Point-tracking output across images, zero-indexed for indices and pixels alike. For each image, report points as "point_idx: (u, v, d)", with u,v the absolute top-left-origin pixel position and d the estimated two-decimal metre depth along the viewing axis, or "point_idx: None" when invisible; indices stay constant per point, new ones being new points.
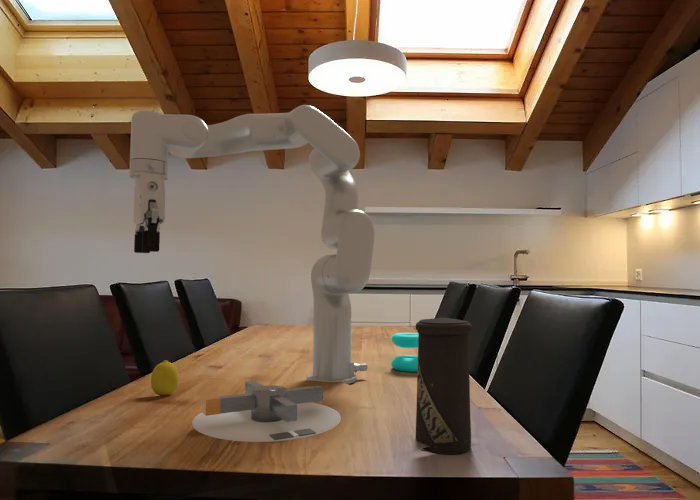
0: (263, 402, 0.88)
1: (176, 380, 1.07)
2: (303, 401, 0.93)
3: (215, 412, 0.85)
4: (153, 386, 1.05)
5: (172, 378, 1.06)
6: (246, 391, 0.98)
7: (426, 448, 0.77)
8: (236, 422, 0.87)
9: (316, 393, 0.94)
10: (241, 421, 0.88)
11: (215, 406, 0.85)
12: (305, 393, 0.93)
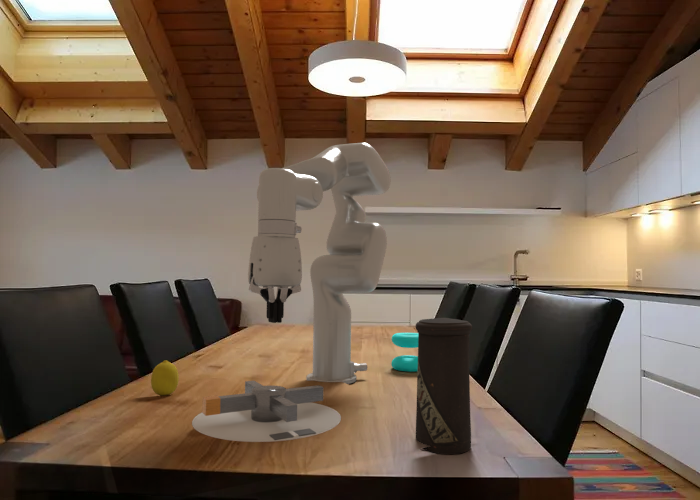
0: (263, 402, 0.88)
1: (176, 380, 1.07)
2: (303, 401, 0.93)
3: (215, 412, 0.85)
4: (153, 386, 1.05)
5: (172, 378, 1.06)
6: (246, 391, 0.98)
7: (426, 448, 0.77)
8: (236, 422, 0.87)
9: (316, 393, 0.94)
10: (241, 421, 0.88)
11: (215, 406, 0.85)
12: (305, 393, 0.93)
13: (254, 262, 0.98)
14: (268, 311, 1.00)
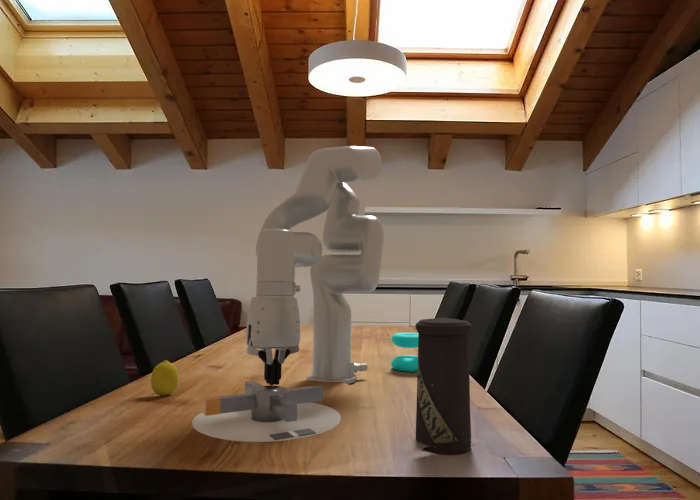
0: (263, 402, 0.88)
1: (176, 380, 1.07)
2: (303, 401, 0.93)
3: (215, 412, 0.85)
4: (153, 386, 1.05)
5: (172, 378, 1.06)
6: (246, 391, 0.98)
7: (426, 448, 0.77)
8: (236, 422, 0.87)
9: (316, 393, 0.94)
10: (241, 421, 0.88)
11: (215, 406, 0.85)
12: (305, 393, 0.93)
13: (252, 324, 0.97)
14: (266, 373, 0.99)
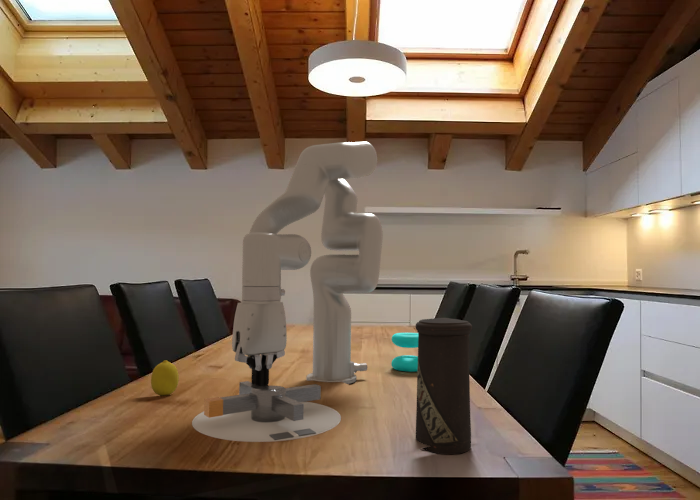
0: (265, 402, 0.88)
1: (176, 380, 1.07)
2: (302, 400, 0.94)
3: (218, 413, 0.84)
4: (153, 386, 1.05)
5: (172, 378, 1.06)
6: (241, 392, 0.98)
7: (426, 448, 0.77)
8: (236, 422, 0.87)
9: (314, 392, 0.95)
10: (241, 421, 0.88)
11: (218, 407, 0.84)
12: (304, 392, 0.94)
13: (241, 331, 0.95)
14: (254, 379, 0.98)
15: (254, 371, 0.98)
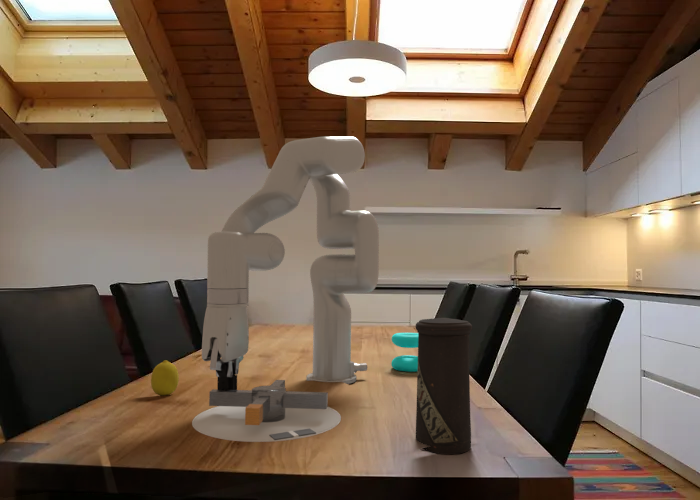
0: (279, 401, 0.89)
1: (176, 380, 1.07)
2: None
3: (261, 419, 0.81)
4: (153, 386, 1.05)
5: (172, 378, 1.06)
6: (214, 401, 0.90)
7: (426, 448, 0.77)
8: (236, 422, 0.87)
9: (283, 386, 0.99)
10: (241, 421, 0.88)
11: (261, 413, 0.81)
12: None
13: (220, 337, 0.89)
14: (224, 387, 0.92)
15: (224, 378, 0.92)
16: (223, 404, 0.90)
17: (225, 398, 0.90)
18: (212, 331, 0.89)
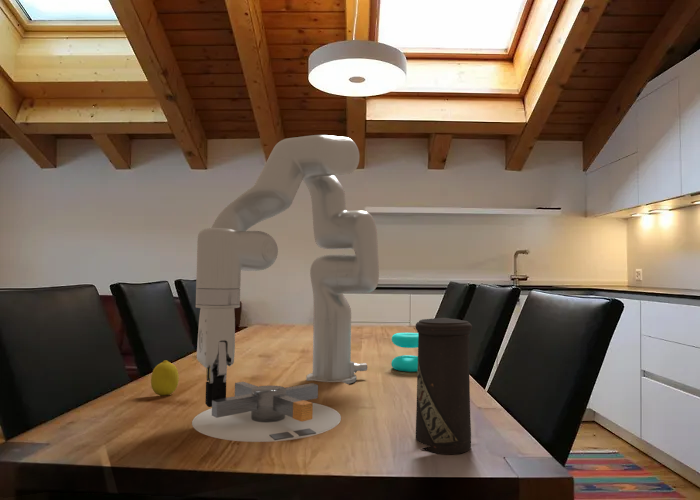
0: None
1: (176, 380, 1.07)
2: None
3: None
4: (153, 386, 1.05)
5: (172, 378, 1.06)
6: (222, 412, 0.83)
7: (426, 448, 0.77)
8: (236, 422, 0.87)
9: None
10: (241, 421, 0.88)
11: None
12: None
13: (230, 339, 0.84)
14: (219, 394, 0.87)
15: (219, 385, 0.87)
16: (231, 413, 0.85)
17: (233, 406, 0.85)
18: (221, 334, 0.84)
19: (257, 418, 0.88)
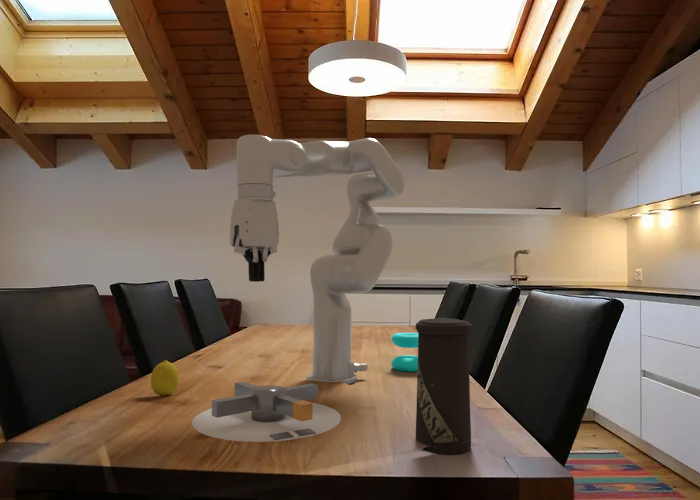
0: None
1: (176, 380, 1.07)
2: None
3: None
4: (153, 386, 1.05)
5: (172, 378, 1.06)
6: (222, 412, 0.83)
7: (426, 448, 0.77)
8: (236, 422, 0.87)
9: None
10: (241, 421, 0.88)
11: None
12: None
13: (240, 224, 1.03)
14: (251, 271, 1.06)
15: (251, 263, 1.06)
16: (231, 413, 0.85)
17: (233, 406, 0.85)
18: (235, 220, 1.04)
19: (257, 418, 0.88)
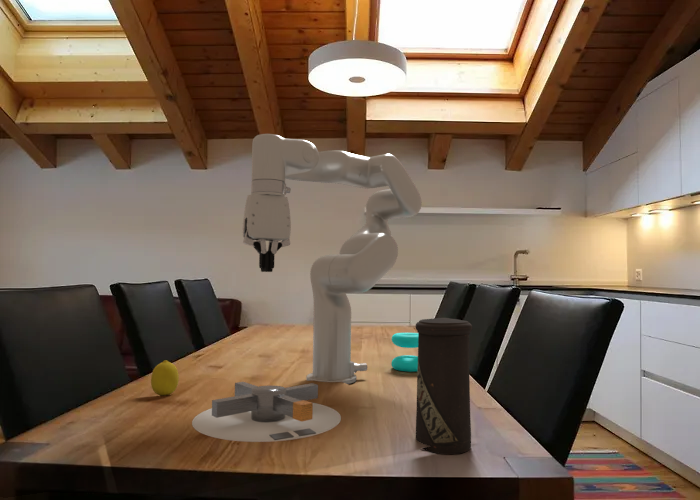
0: None
1: (176, 380, 1.07)
2: None
3: None
4: (153, 386, 1.05)
5: (172, 378, 1.06)
6: (222, 412, 0.83)
7: (426, 448, 0.77)
8: (236, 422, 0.87)
9: None
10: (241, 421, 0.88)
11: None
12: None
13: (248, 217, 1.10)
14: (260, 261, 1.12)
15: (261, 254, 1.13)
16: (231, 413, 0.85)
17: (233, 406, 0.85)
18: (245, 213, 1.12)
19: (257, 418, 0.88)
